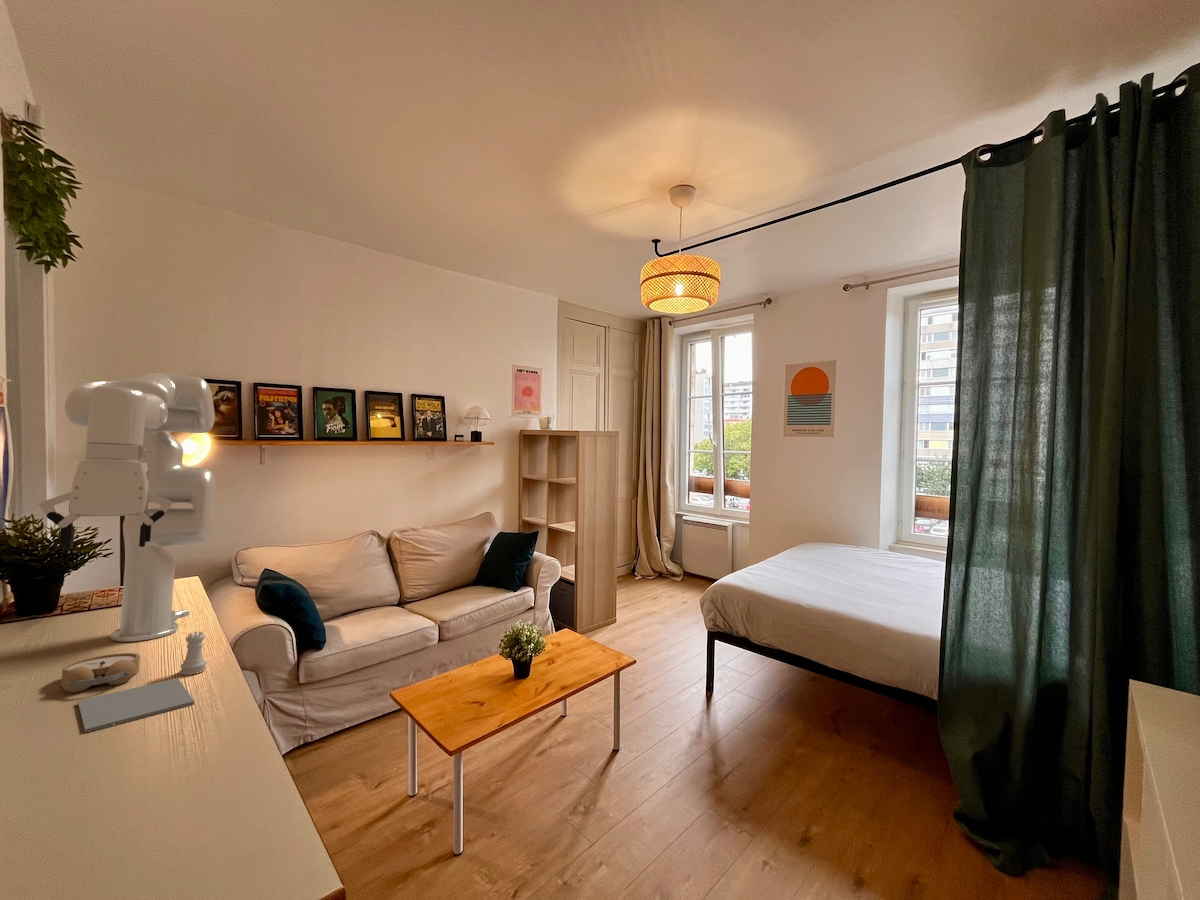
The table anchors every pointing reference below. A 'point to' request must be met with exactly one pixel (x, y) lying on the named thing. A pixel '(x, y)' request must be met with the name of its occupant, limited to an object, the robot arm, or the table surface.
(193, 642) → the rook chess piece
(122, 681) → the alarm clock
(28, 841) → the table surface
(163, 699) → the mat
